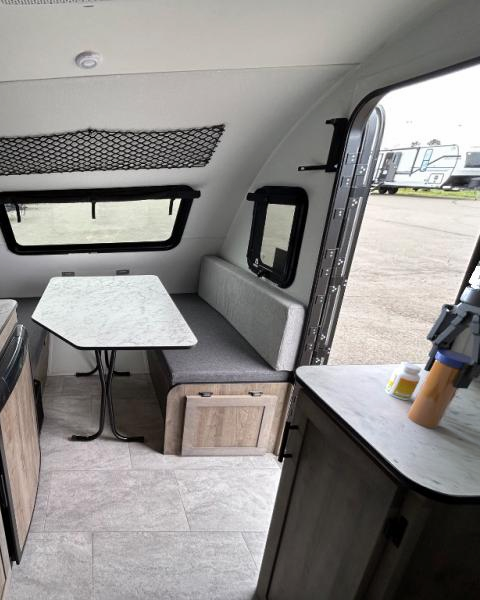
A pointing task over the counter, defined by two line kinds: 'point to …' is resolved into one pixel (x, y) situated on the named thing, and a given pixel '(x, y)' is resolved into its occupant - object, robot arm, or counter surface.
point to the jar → (434, 395)
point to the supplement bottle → (404, 381)
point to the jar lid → (452, 358)
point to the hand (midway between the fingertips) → (444, 378)
